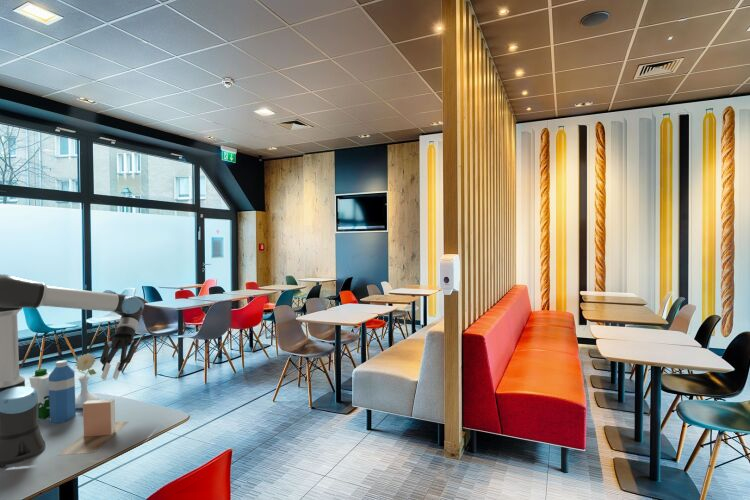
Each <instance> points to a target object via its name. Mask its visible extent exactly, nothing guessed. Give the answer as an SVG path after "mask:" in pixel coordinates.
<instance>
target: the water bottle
mask: <svg viewBox="0 0 750 500" xmlns="http://www.w3.org/2000/svg"><path fill="white" fill-rule="evenodd" d="M50 372H51V374H50V375H49V405H50V417H49V423H50V424H60V423H65V422H68V421H69V420H71V419H72V418H74V417H76V414H77V413H76V409H75V398H76V384H75V383H76V382H75V381H76V380H75V379H76V378H75V374H76V373H75V370H74V369H73V368H72V367H71V366H70V365H68V360H66V359H64V360H58V361H56V362H55V367H54V368H53V370H52V371H50Z"/></svg>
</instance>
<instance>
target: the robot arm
mask: <svg viewBox="0 0 750 500" xmlns="http://www.w3.org/2000/svg"><path fill="white" fill-rule="evenodd" d="M39 307H51V308H65V309H76V310H89V311H98V312H99V311H100V312H111V313H112V312H113V313H114V314H117V315H118V316H120V320H119V322H118V325H117V328H116V331H114V332H115V333H114V336H113V338H112V339H111V341H104V343H103V344H104V348H103V350H102V353H101V355H100V356H101V357H100V359H99V362H100V363H101V364H102V367H101V371H102V373H101V375H100V378H101V379H102V380H103V381H106V380H107V377H108V374H109V372H110V369H111V362H112V361H113V359H114V357H115V355H116V353H117V352H119V350H121V351H120V359H119V361H117V363H116V366H115V370H113V375H112V378H113V379H114V380H118V378H119V375H120V372H122V371H123V370H124V366H125V364H130V363H131V362H132V361H131V360H132V358H133V356H134V353H135V351H136V349H137V347H138V345H139V341H138V340H137V339H134V337H135V334H136V332H137V328H138V325H139V322H140V320H141V316H142V314H143V312H144V308H145V303H144V301H143V300H141V299H140V298H138V297H137V296H135V295H128V294H127V295H126V294H120V293H117V292H115V291H113V290H111V289H105V290H104V291H102V292H100V291H93V290H85V289H76V288H69V287H59V286H52V285H46V284H45V283H44V282H40V281H35V280H30V279H26V278H22V277H18V276H15V275H8V274H0V468H5V467H6V466H8V465H14V464H17V463H20V462H24V461H27V460H30V459H31V458H34V457H37V456H38V455H39V454H41V453H42V452H44V450H46V441H45V439H44V437H43V436H42V433H41V431H40V428H39V427H40V426H39V423H40V422H39V419H40V418H38V399H39V398H38V394H37V390H36V389H35V388H33V387H31V386H26V381H25V380H26V379H25V377H24V376H22V375H20V362H19V361H20V360H19V358H20V357H19V355H20V354H19V331H18V329H19V328H18V325H19V324H18V314H19V312H21V311H22V310H23V308H27V309H28V308H29V309H38V308H39ZM129 346H130V347H129ZM128 347H129V349H128ZM110 349H111V350H110ZM127 351H128V352H127Z"/></svg>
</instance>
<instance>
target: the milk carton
mask: <svg viewBox="0 0 750 500" xmlns="http://www.w3.org/2000/svg"><path fill="white" fill-rule="evenodd" d="M51 372H52V371H48V370H47V368H40V369H37V370H34V375H32V376H30V377H29V378H28V379H29V382H30V387H33V388H35V389H36V390H37V394H38V398H39V399H38V418H39V419H42V420H45V419H48V418H50V405H49V375H50V374H51Z"/></svg>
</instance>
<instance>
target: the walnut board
mask: <svg viewBox="0 0 750 500" xmlns="http://www.w3.org/2000/svg"><path fill="white" fill-rule="evenodd" d="M128 423H129V421H115V432H114V433H113V434H112V435H100V436H87V437H84V434H83V435H82V436H80V437H78V439H77V440H75V441H74V442H73V443H71V444H70V445H69V446H68V447H66V448H65V449H64V450H63V451H61V452H60V453H59V454H58V456H66V455H67V456H68V455H81V454H95V453H96V452H97V451H98V450H99V449H100V448H101V447H103V445H104V444H106V443H107V442H108V441H109V440H110V439H111V438H112V437H113V436H115V434H116V433H118V432H119V431H120V430H121V429H122V428H123V427H124V426H125V425H127V424H128Z"/></svg>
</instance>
